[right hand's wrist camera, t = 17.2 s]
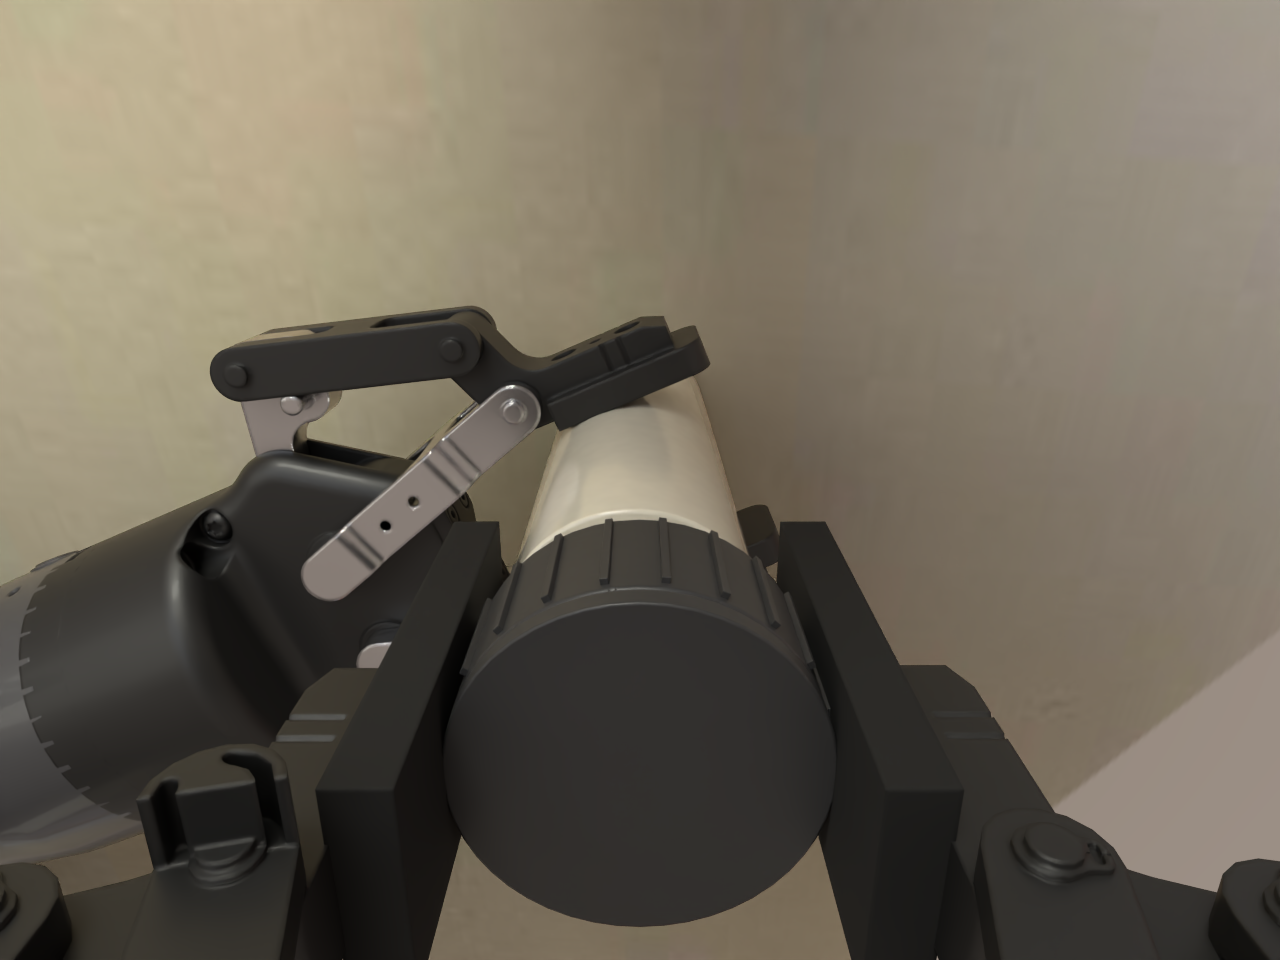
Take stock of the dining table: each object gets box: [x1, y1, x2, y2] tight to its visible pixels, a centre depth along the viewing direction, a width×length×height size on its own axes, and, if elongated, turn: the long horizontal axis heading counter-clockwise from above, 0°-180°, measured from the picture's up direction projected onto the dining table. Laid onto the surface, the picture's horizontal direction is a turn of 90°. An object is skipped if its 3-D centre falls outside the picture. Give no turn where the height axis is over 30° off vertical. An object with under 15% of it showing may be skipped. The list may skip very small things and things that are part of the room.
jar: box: [516, 376, 750, 563], centre depth 19 cm, size 4×4×16 cm
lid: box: [442, 517, 837, 927], centre depth 11 cm, size 5×5×2 cm
